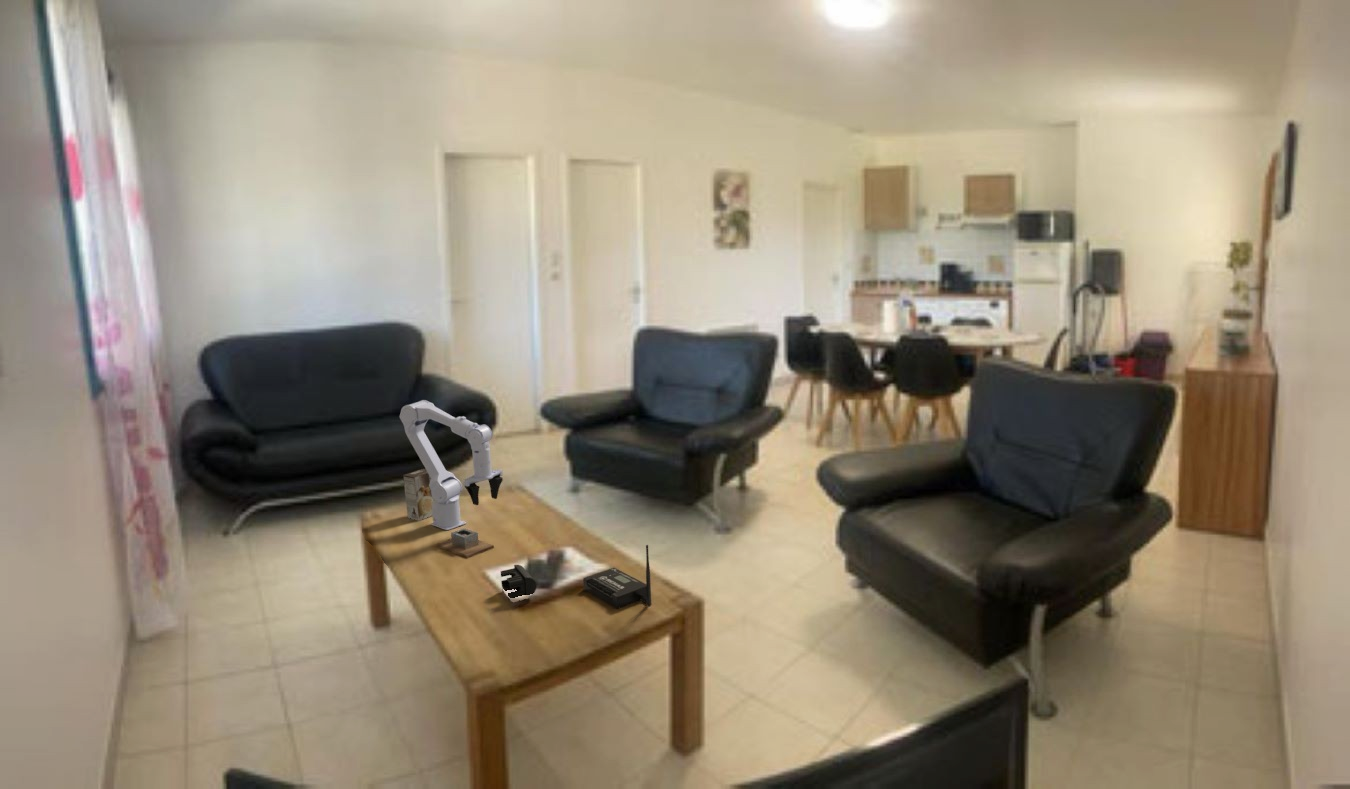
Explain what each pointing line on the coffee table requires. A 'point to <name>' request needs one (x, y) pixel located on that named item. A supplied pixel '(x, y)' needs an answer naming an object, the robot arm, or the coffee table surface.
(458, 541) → the steel link
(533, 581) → the end cap
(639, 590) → the wireless controller
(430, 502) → the coffee box
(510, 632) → the coffee table surface
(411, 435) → the robot arm
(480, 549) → the keeper board
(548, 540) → the coffee table surface
